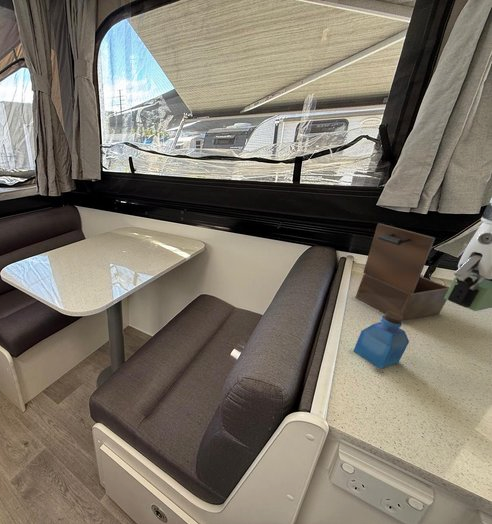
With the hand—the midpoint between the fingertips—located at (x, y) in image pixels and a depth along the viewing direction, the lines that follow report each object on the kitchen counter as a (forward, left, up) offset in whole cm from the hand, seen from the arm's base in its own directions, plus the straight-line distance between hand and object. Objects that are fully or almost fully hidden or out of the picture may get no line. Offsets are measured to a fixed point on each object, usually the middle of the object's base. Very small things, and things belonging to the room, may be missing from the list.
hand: (468, 300), depth 55 cm
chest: (-18, -21, -17) cm, 32 cm away
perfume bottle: (+10, -5, -18) cm, 21 cm away
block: (0, 0, 0) cm, 0 cm away
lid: (-10, -21, 0) cm, 23 cm away
